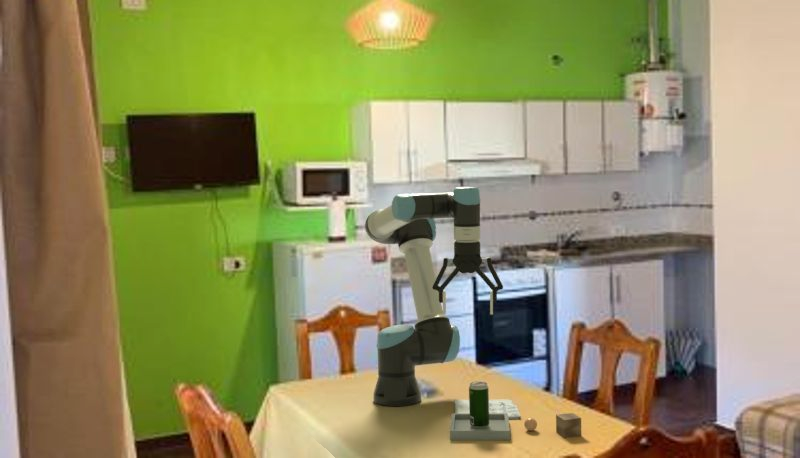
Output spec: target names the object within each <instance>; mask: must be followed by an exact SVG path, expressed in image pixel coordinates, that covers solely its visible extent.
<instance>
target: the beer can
mask: <svg viewBox="0 0 800 458" xmlns="http://www.w3.org/2000/svg"><path fill="white" fill-rule="evenodd" d="M489 390H490V389H489V386H488V382H486V381H472V382H470V383H469V387H468V400H469V409H470V425H471V427H472V428H475V429H484V428H487V427H488V426H489V400H490V399H489V398H490V397H489V396H490V395H489Z"/></svg>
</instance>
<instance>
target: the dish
mask: <svg viewBox="0 0 800 458" xmlns="http://www.w3.org/2000/svg"><path fill="white" fill-rule="evenodd" d="M450 416H451V418H450V425H449V426H450V427H449V441H455V440H456V441H511V430H510V421H509V420H510V419H508V413H489V426H488V427H487V428H484V429H475V428H472V427H471V425H470V413H451V415H450Z"/></svg>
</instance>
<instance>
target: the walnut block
mask: <svg viewBox="0 0 800 458" xmlns="http://www.w3.org/2000/svg"><path fill="white" fill-rule="evenodd" d="M555 425H556V428H555V431H556V434H558V435H559V436H561V437H562V438H564V439H567V438H575V437H582V418H581V416H579V415H578V414H576V413H574V412H570V413H560V414H559V413H558V414H555Z"/></svg>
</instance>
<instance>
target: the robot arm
mask: <svg viewBox="0 0 800 458" xmlns="http://www.w3.org/2000/svg"><path fill="white" fill-rule="evenodd" d="M435 219H453V240H455V241H454V242H453V246H454V247H453V251H454V252H453V258H450V257H448V256H445V257H444V258H443V261H442V266H441V267H440V270H439V272H438V275H437V276H436V273H435V269H434V264H433V259H432V255H431V250H430V249H431V247H432V246H433V244H434V243H433V242H434V241H435V239H436V236H437V227H436V222H435V221H436V220H435ZM364 228H365V232H366V234H367V236H368V237H369V238H370V239H371V240H373V241H374V242H376V243H379V244H383V245H398V246H397V247H398V251H400V252H401V253H402V254H404V256H405V257H404V259H405V262H406V267H407V273H408V276H409V277H408V278H409V283H410V288H411V292H412V297H413V303H414V307H415V312H416V313H415V314H416V317H417V321H416V322H415V324H414V325H411V324H407V323H406V324H405V323H404V324H395V325H391V326H388V327H385V328H382V329H381V330H379V332H378V333H377V343H376V348H377V369H378V370H377V371H378V373H377V374H378V376H377V381H376V384H375V387H374V391H373V403H374V404H376V405H379V406H380V405H381V406H386V407H405V406H406V407H407V406H411V405H415V404H418V403H420V402H421V400H422V392H421V391H422V390H421V389H420V386H419V383H418V380H417V378H416V371H415V370H416V367H417V366H423V365H424V366H425V365H426V366H427V365H433V364H444V363H449V362H453V361H454V360H456V358H457V357H458V354H459V351H460V347H461V335H460V330H459V328H458V327H457V325H455V324H451V320H450V318H449V317H448V316H446V314H447V292H446V290H445V288H447V286H448V285H449V284H450V283H451V282H452V281H453V279H454V278H455V276H457V275H458V273H459V272H460V273H461V274H474V273H476V274H477V275H478V276H479V277H480V278H481V279H482V280H483V281H484V282H485V284H486V285H487V286H488V287H489V288H490V289H491V290H489V299H490V300H489V301H490V302H489V305H490V306H489V307H490V308H489V311H490V312H489V315H492V316H493V315H494V304H495V303H497V301H498V292H499V291H500V290H503V289H504V285H503V283H502V281H501V279H500V277H499V275H498V273H497V271H496V270H495V267H494V265H493V263H492V257H491V256H487V257H482V256H481V242H480V239H481V194H480V189H479V188H478V187H476V186H457V187H455V188H454V189H453V191H444V192H432V193H411V194H410V193H403V194H396V195H395V196H394V197H393V199H392V201H391V205H388V206H387V207H386V208H384V209H377V210H374V211H373V212H371V213H370V214H369V215H368V216H367V218H366V220H365V224H364ZM452 263H453V265H454V266H455V268H453V271H452V272H451V273H449V275H448V276H447V278H446V279H445V280H444V281H443V282H442V284H440V282H441V281H442V278H443V276H444V274H445V271H446V269H447V268H448V266H450V265H451V264H452ZM482 263H483V264H484V266H487V268H488V269H489V272H490V274H491V276H492V278H493V279H494V281H495V283H496V285H495V284H494V283H493V282H492V281H491V279H490V278H489V277H488V276H487V275H486V274H485V273H484V271H483V269H482V268H480V266H481V265H482ZM439 284H440V285H439Z"/></svg>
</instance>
